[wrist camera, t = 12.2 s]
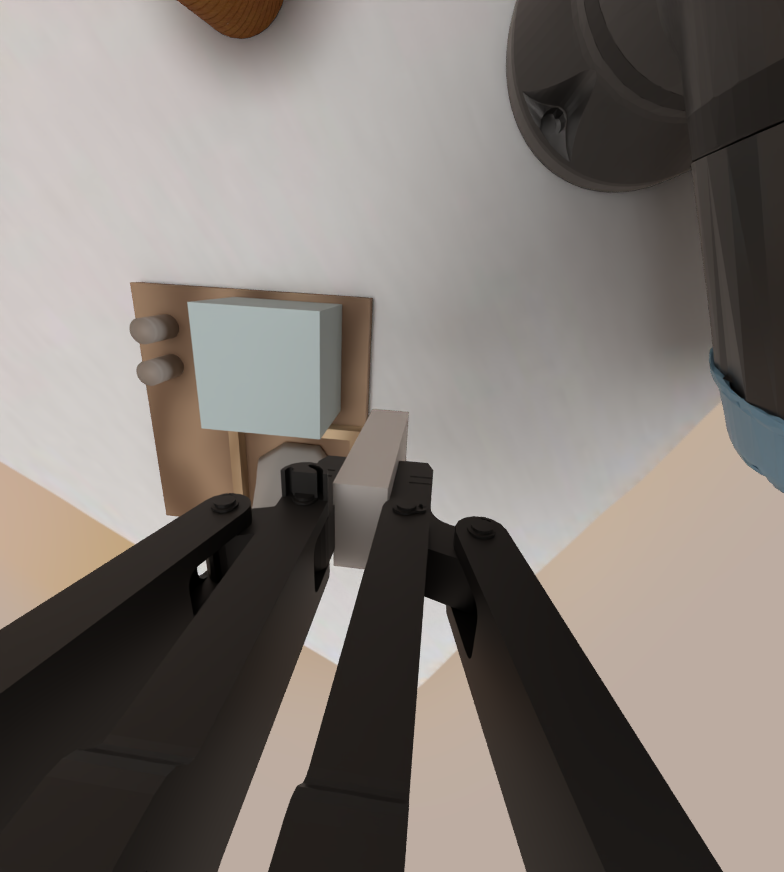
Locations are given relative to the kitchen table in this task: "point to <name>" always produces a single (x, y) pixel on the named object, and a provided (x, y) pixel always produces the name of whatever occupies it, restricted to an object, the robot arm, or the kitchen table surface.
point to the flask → (271, 465)
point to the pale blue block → (267, 365)
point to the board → (179, 407)
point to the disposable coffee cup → (236, 15)
